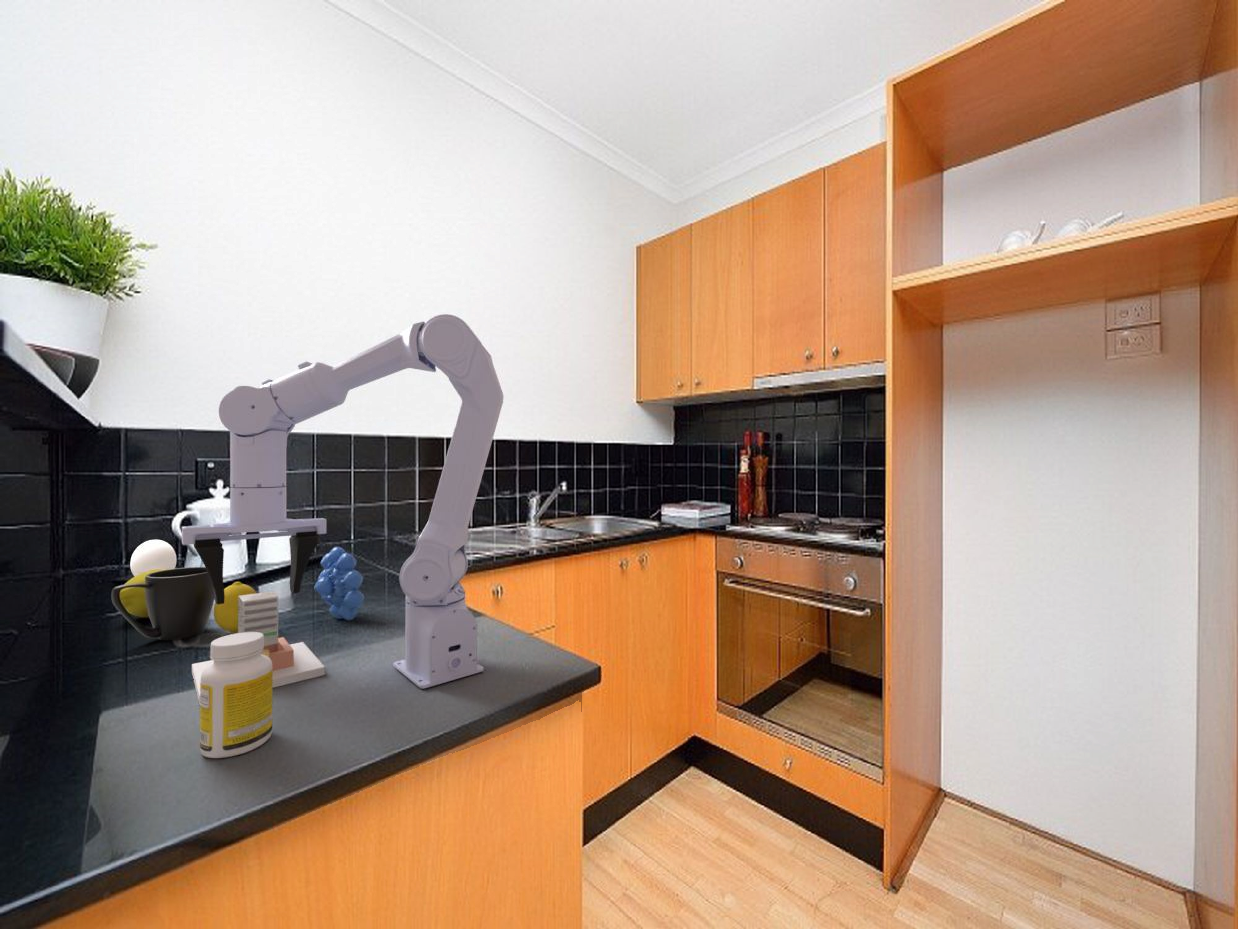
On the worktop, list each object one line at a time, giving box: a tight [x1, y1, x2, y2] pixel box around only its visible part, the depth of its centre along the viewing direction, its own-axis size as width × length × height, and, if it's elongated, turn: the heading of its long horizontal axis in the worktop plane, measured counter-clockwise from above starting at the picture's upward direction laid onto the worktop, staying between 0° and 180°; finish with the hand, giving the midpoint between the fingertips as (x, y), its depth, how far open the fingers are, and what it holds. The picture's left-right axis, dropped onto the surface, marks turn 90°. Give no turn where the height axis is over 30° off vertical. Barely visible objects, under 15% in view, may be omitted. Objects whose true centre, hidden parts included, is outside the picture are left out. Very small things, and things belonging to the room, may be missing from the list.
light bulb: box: [129, 539, 177, 577], centre depth 101 cm, size 7×7×11 cm
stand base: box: [191, 636, 326, 705], centre depth 64 cm, size 12×12×4 cm
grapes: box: [313, 546, 365, 621], centre depth 86 cm, size 12×7×12 cm, turn 55°
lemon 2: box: [213, 581, 257, 634], centre depth 78 cm, size 6×6×8 cm
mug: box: [110, 566, 215, 641], centre depth 77 cm, size 8×12×10 cm
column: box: [238, 590, 279, 646], centre depth 64 cm, size 4×4×6 cm
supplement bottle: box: [199, 632, 274, 759], centre depth 48 cm, size 5×5×10 cm
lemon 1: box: [120, 569, 169, 619], centre depth 87 cm, size 11×8×8 cm
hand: (258, 596), depth 64 cm, fingers open, 7 cm apart
